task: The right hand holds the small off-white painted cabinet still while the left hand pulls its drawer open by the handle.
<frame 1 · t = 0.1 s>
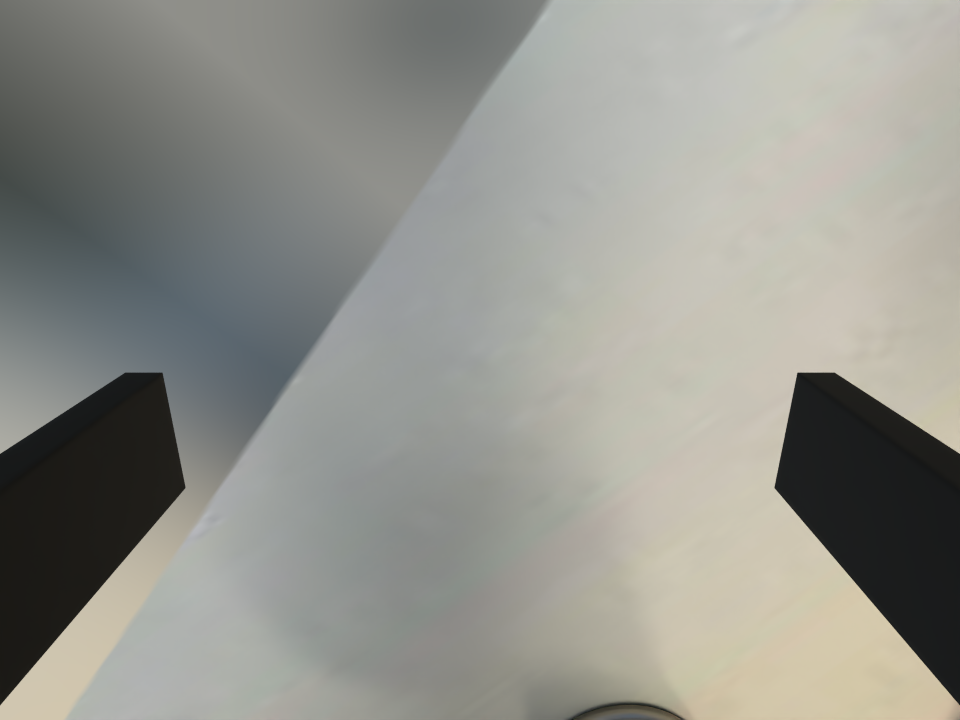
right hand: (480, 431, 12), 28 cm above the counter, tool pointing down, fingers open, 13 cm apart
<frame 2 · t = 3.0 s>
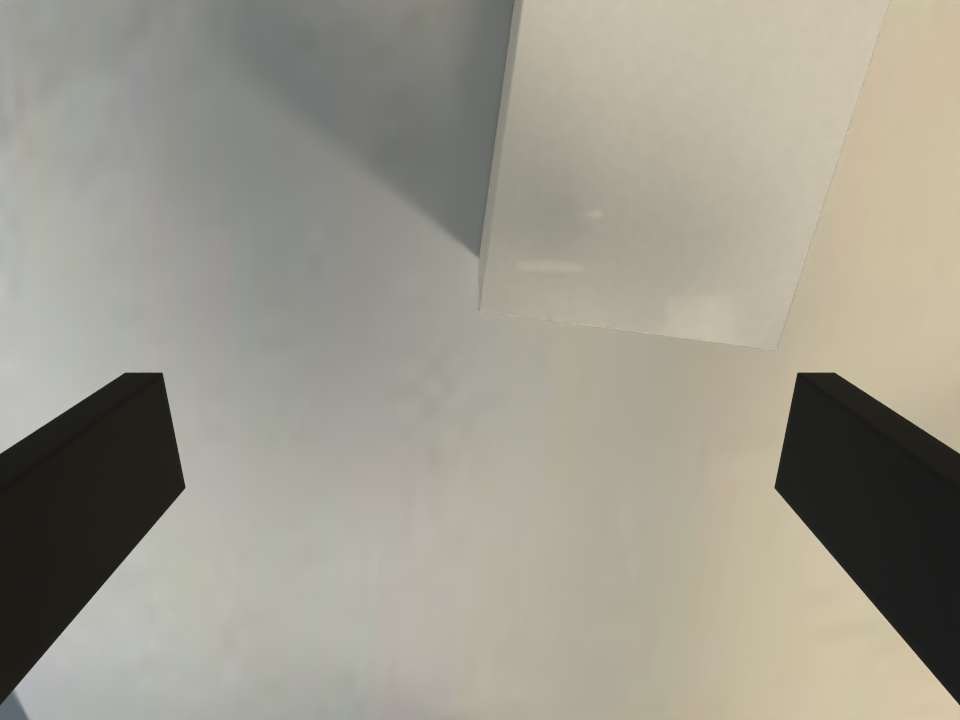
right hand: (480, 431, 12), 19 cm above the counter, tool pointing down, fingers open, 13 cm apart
cabinet: (626, 45, 27), on the counter
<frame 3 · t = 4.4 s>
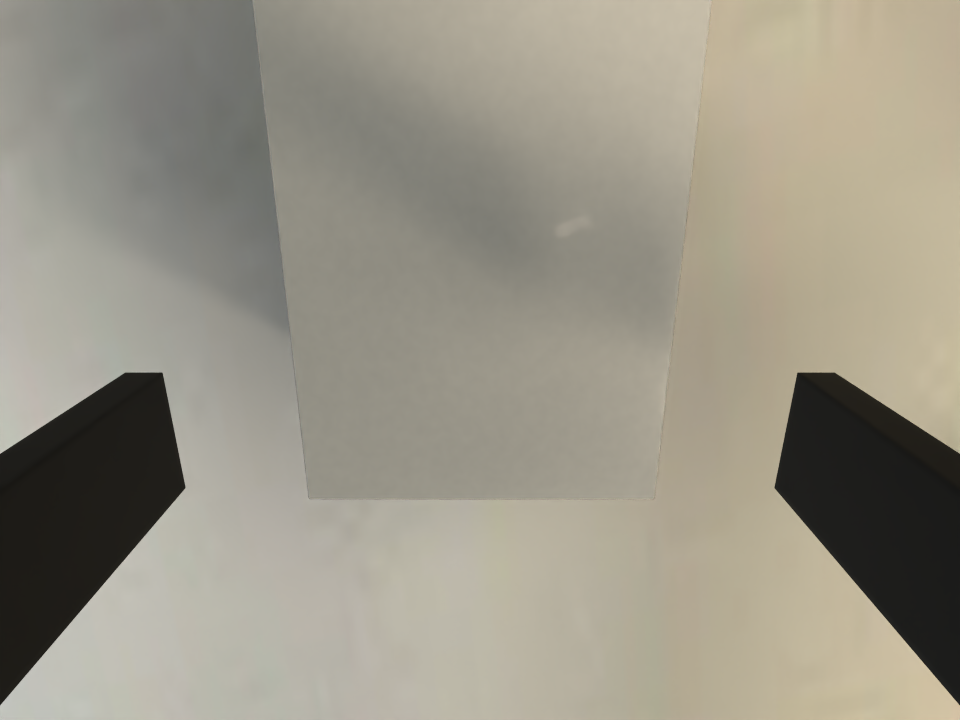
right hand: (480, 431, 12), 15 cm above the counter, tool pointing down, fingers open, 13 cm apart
cabinet: (481, 139, 24), on the counter
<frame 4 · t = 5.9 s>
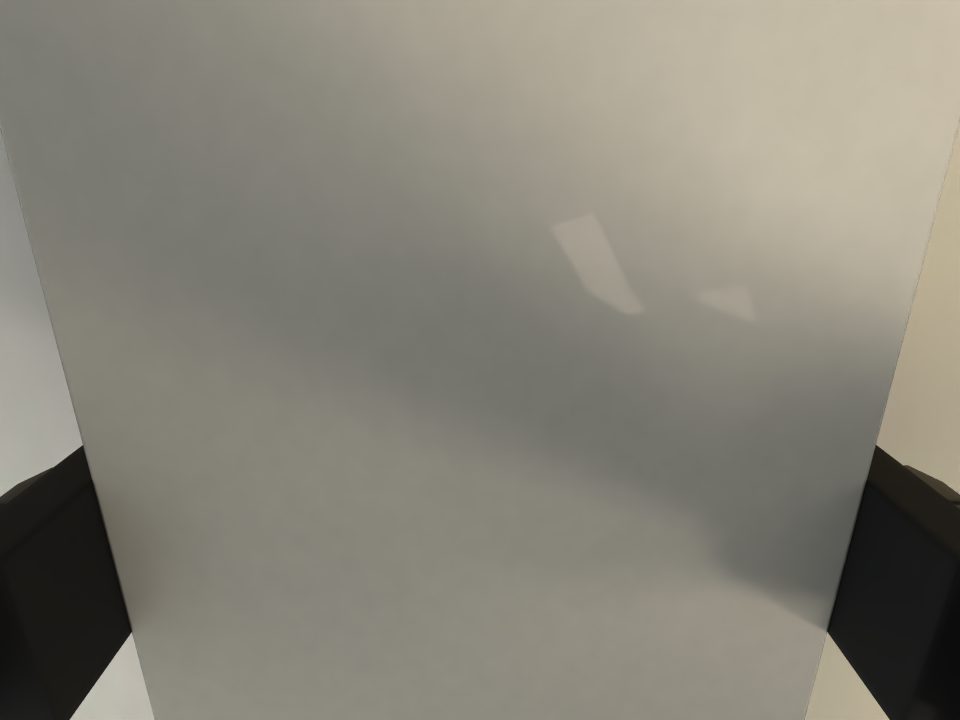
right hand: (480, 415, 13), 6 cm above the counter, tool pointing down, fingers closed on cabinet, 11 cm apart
cabinet: (479, 125, 16), on the counter, touching right hand
when the right hand's fingers open (6 cm above the counter, at t = 10.5 s): cabinet stays where it is, on the counter.
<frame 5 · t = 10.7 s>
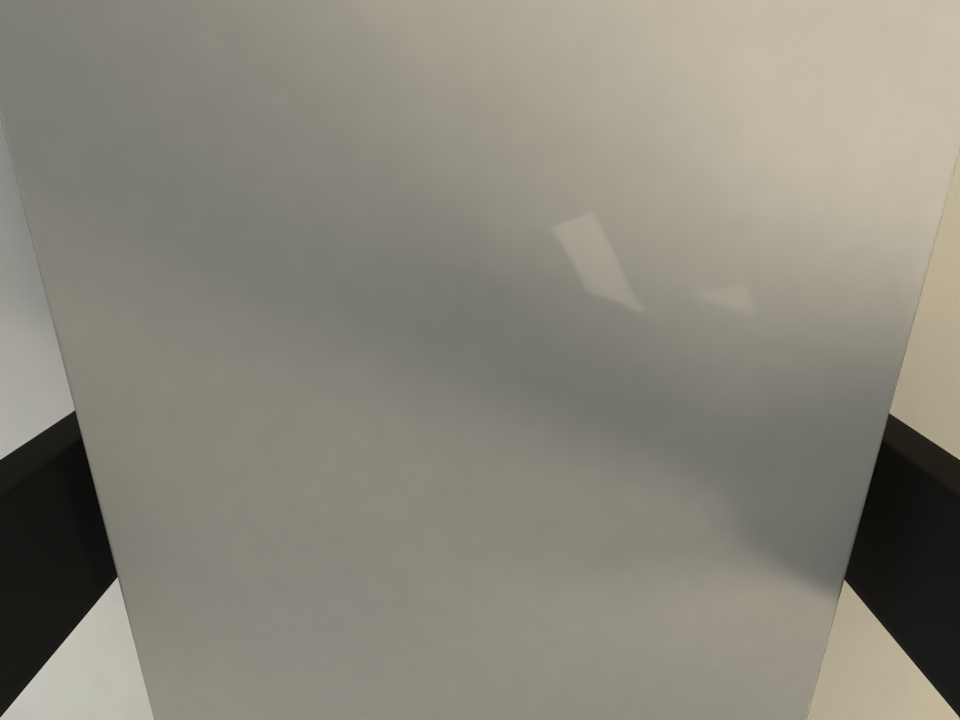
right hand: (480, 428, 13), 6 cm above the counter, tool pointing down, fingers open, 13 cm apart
cabinet: (481, 129, 16), on the counter
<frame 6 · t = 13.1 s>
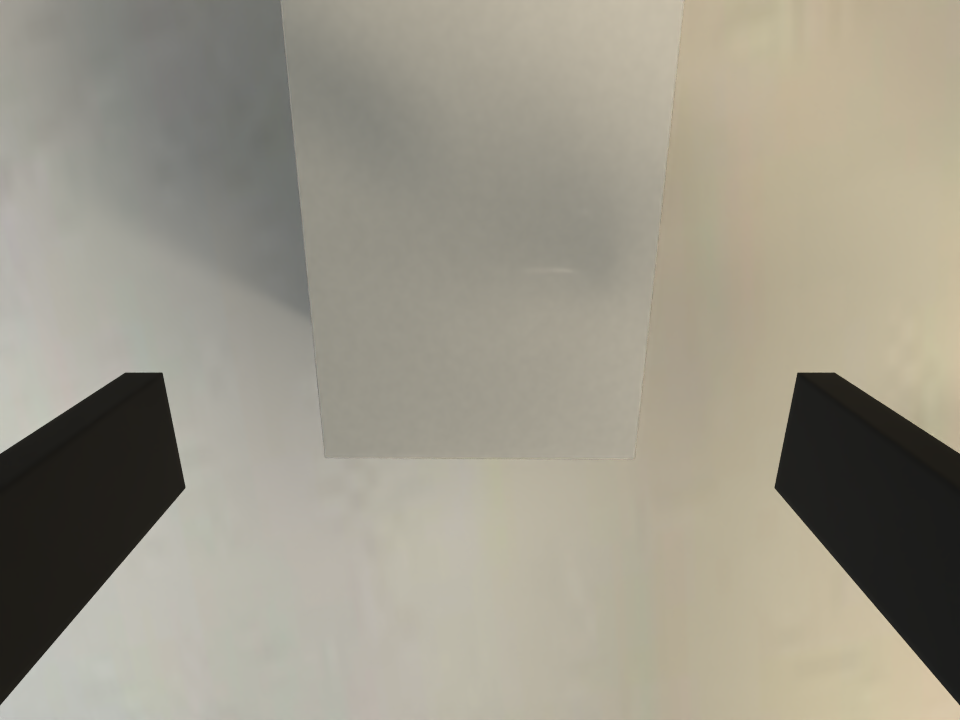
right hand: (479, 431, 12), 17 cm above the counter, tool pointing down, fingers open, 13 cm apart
cabinet: (481, 134, 26), on the counter
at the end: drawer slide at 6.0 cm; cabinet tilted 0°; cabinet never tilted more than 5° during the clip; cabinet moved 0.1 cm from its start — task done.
